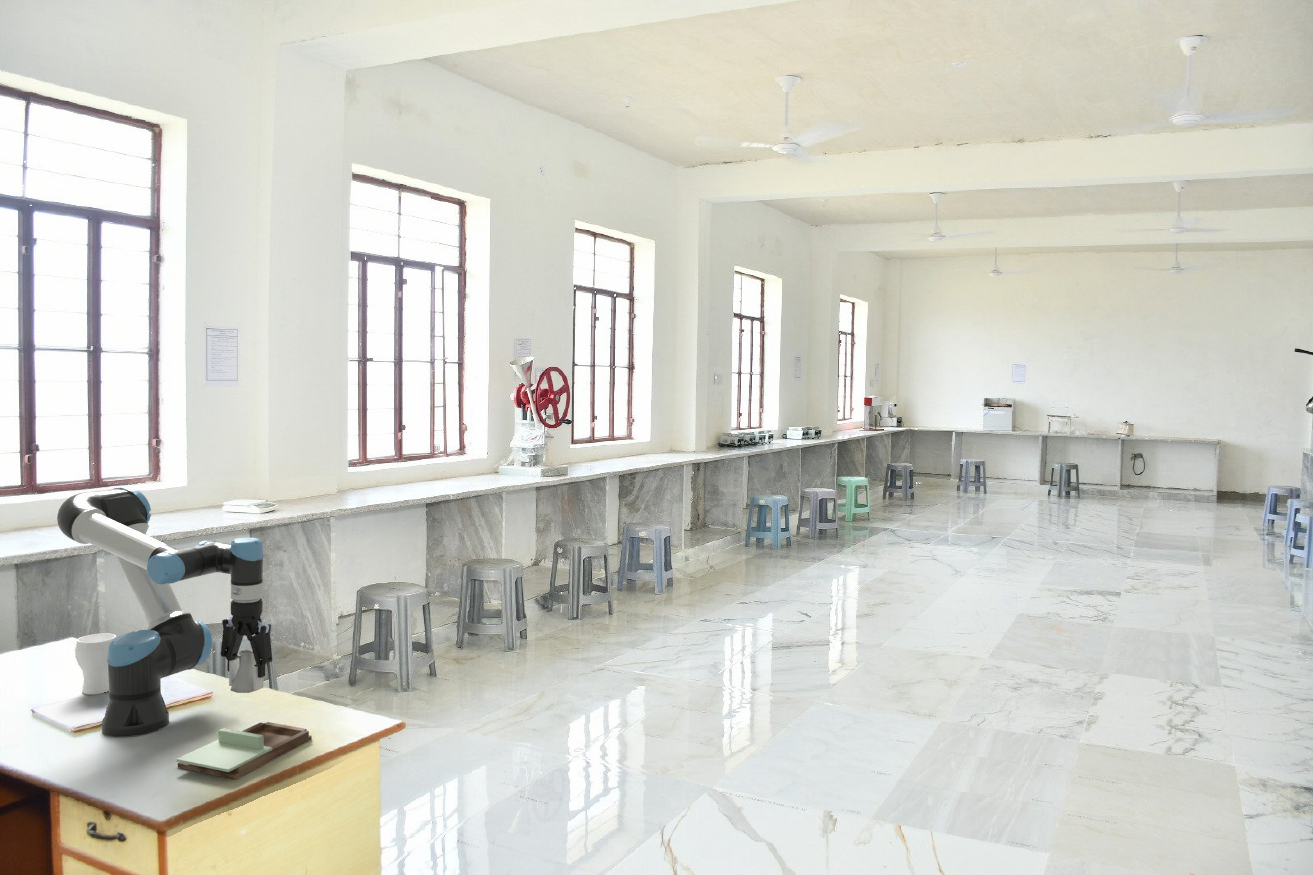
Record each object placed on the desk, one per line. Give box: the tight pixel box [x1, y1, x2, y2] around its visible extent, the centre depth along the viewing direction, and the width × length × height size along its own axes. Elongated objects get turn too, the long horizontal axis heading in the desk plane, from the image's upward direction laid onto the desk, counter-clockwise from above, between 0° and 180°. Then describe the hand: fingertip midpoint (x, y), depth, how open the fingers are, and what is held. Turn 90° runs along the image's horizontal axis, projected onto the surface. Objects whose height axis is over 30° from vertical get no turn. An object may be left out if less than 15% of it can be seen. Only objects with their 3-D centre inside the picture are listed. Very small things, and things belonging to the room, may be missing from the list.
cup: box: [74, 632, 118, 695], centre depth 275 cm, size 11×11×15 cm
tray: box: [177, 721, 313, 780], centre depth 234 cm, size 17×25×2 cm
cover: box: [176, 727, 272, 772], centre depth 226 cm, size 15×14×4 cm
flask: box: [230, 649, 255, 694], centre depth 251 cm, size 7×7×10 cm
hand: (246, 686), depth 251 cm, fingers closed on flask, 7 cm apart
